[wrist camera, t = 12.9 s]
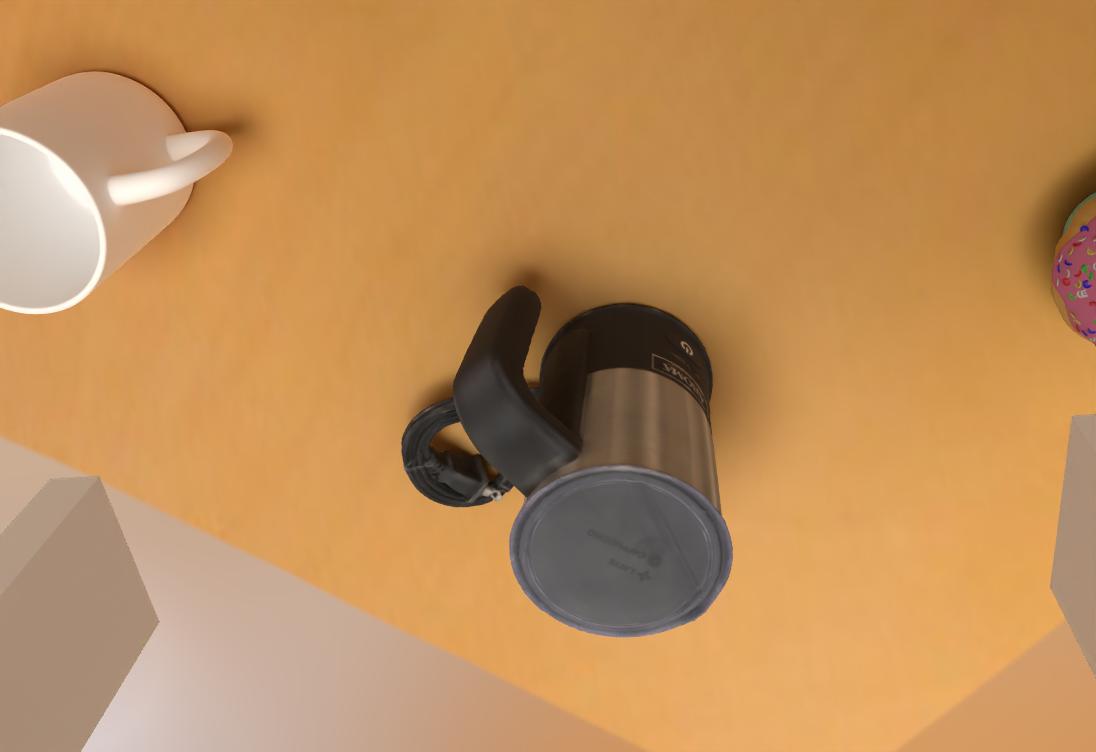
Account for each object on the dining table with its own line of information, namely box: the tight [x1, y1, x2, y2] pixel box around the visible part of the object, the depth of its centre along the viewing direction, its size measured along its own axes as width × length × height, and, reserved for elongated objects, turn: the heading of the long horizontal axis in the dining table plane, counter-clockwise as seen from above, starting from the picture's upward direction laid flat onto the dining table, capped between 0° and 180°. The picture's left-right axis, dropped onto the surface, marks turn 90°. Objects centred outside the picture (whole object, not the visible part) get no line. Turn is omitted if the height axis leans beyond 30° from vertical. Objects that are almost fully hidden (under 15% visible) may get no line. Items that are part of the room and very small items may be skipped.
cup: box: [0, 71, 233, 314], centre depth 47 cm, size 8×12×10 cm
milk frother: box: [401, 286, 733, 637], centre depth 50 cm, size 14×16×15 cm
